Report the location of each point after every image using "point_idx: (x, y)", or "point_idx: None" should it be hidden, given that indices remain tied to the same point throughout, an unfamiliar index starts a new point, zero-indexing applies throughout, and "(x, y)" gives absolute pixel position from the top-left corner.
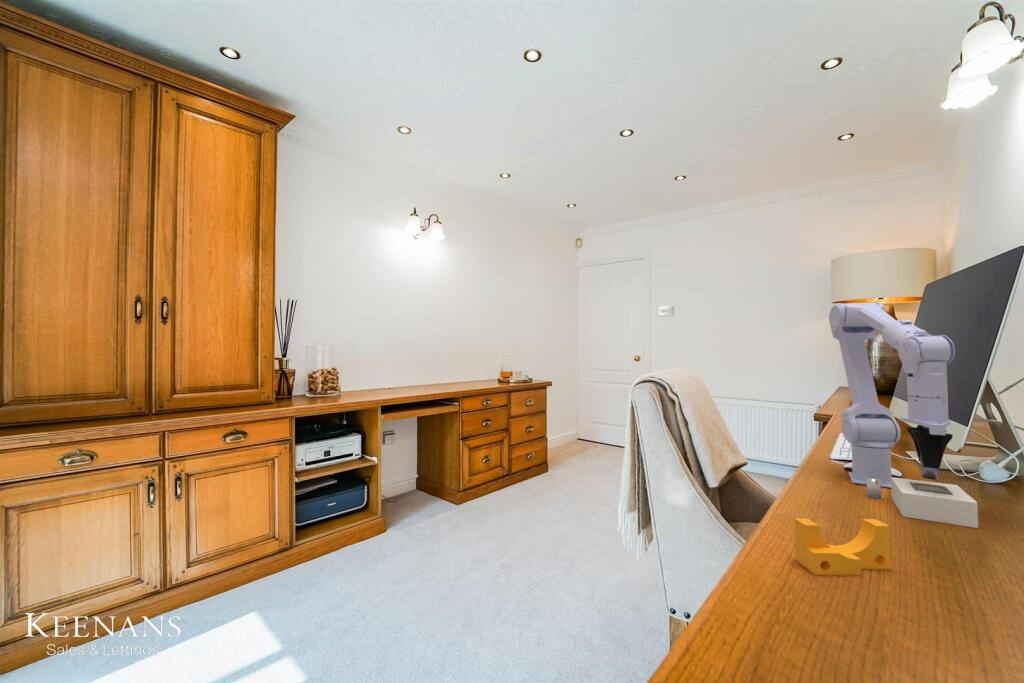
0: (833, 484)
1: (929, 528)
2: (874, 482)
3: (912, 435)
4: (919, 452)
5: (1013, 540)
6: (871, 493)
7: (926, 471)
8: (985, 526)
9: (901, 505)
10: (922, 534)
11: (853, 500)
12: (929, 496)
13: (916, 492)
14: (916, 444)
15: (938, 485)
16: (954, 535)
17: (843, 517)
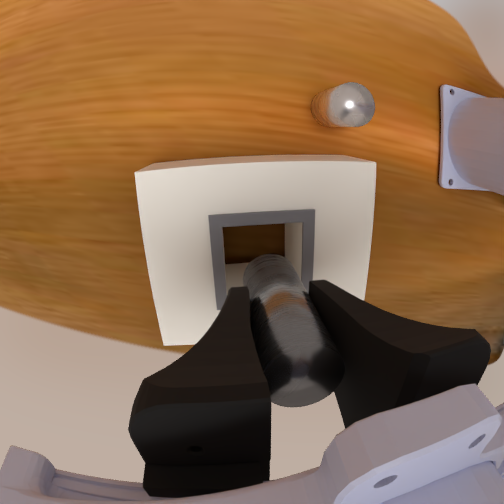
0: (404, 31)
1: (93, 214)
2: (329, 103)
3: (381, 346)
4: (332, 307)
5: (134, 342)
6: (316, 98)
7: (250, 283)
8: None
9: (166, 164)
10: (42, 198)
11: (249, 48)
12: (144, 247)
13: (174, 215)
14: (353, 323)
15: None
16: (81, 255)
17: (59, 44)
